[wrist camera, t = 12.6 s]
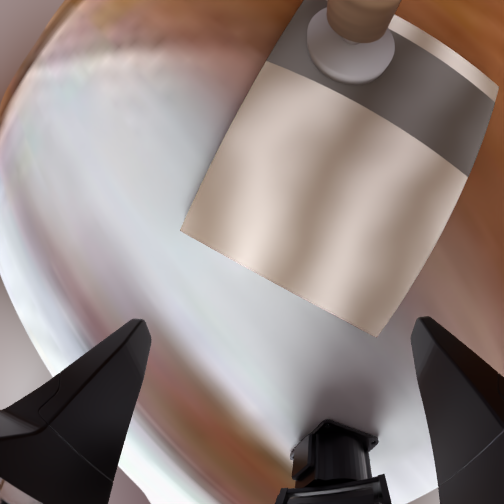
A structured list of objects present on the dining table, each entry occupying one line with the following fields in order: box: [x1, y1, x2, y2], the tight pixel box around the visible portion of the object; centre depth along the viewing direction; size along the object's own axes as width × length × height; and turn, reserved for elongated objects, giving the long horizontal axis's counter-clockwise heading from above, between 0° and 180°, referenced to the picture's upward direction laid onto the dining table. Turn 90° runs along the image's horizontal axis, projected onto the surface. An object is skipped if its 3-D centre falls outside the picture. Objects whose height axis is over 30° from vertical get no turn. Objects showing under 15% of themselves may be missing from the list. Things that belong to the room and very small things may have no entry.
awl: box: [307, 0, 401, 85], centre depth 11 cm, size 6×6×12 cm
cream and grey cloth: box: [180, 0, 499, 338], centre depth 18 cm, size 16×22×1 cm
